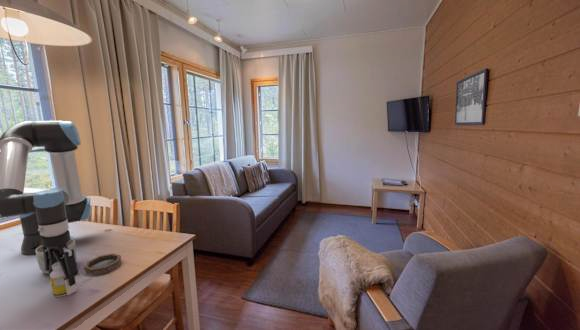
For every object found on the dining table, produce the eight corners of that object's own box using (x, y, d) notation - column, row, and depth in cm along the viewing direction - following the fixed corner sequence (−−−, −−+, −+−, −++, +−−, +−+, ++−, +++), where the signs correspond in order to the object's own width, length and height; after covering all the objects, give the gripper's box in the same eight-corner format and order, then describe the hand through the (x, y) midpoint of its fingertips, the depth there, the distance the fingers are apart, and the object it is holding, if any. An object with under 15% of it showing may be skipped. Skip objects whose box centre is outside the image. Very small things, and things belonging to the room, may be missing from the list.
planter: (45, 280, 98) (40, 255, 96) (35, 271, 105) (31, 247, 103) (83, 265, 108) (79, 242, 107) (72, 257, 115) (69, 235, 113)
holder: (78, 271, 104) (77, 266, 103) (108, 257, 115) (107, 251, 115) (98, 277, 100) (97, 272, 99) (127, 261, 111) (126, 256, 111)
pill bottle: (63, 286, 95) (58, 258, 93) (81, 285, 95) (76, 258, 93) (48, 298, 88) (42, 268, 86) (67, 297, 89) (62, 267, 87)
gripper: (24, 233, 87) (35, 290, 91) (60, 241, 81) (71, 303, 85) (50, 225, 94) (59, 278, 98) (85, 232, 88) (94, 289, 92)
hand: (65, 290), depth 92 cm, fingers open, 7 cm apart
